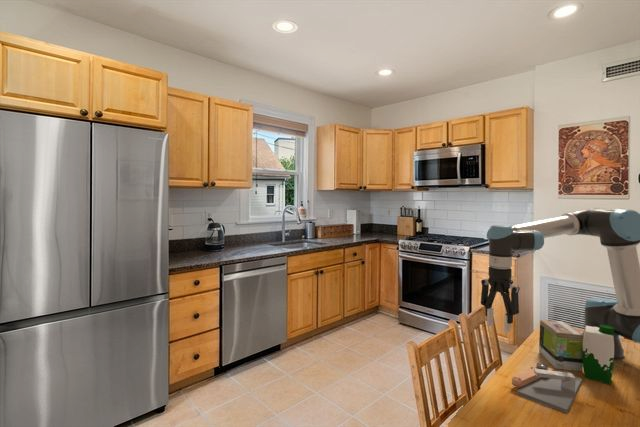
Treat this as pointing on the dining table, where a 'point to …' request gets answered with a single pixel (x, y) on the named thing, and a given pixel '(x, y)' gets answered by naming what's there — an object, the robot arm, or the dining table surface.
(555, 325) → the tea box
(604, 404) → the dining table surface
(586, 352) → the milk carton
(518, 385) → the link
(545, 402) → the board
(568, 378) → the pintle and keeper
